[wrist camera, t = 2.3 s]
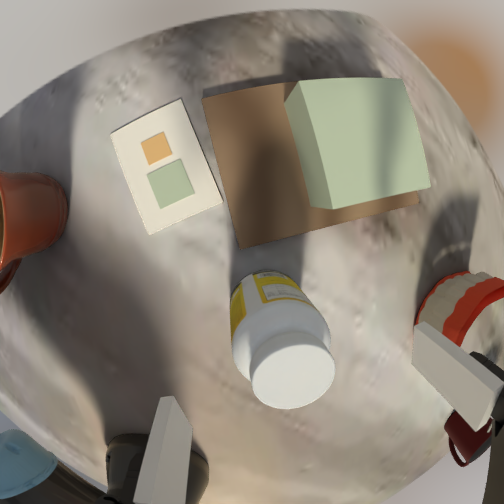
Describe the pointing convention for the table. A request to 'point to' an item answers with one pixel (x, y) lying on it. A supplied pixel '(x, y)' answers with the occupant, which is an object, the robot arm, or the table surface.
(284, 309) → the pill bottle
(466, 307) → the denture model
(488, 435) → the mug
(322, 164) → the brick
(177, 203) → the page
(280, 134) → the plate
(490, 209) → the table surface
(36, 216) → the mug
